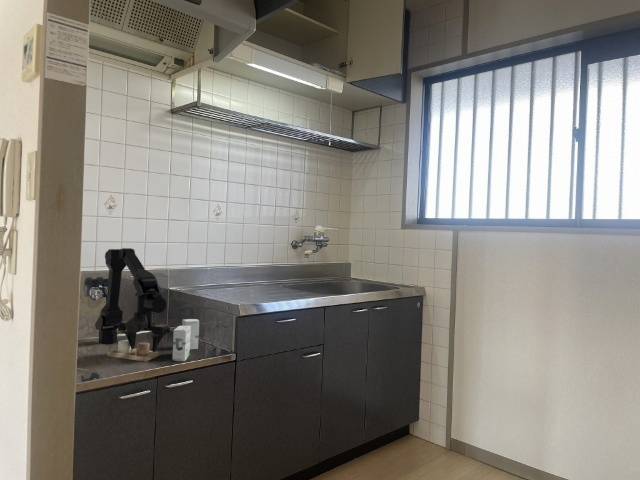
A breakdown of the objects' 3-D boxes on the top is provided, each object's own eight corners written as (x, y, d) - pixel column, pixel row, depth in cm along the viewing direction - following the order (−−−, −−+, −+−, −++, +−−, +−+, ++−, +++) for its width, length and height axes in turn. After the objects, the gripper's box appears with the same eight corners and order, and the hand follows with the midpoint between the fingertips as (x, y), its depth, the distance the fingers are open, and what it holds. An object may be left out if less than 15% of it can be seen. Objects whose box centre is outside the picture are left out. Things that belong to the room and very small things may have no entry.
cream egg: (115, 355, 185) (115, 342, 185) (123, 352, 189) (123, 339, 189) (125, 356, 183) (125, 342, 183) (133, 353, 188) (133, 340, 188)
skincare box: (183, 351, 198) (185, 321, 197) (180, 348, 201) (181, 319, 201) (198, 349, 201) (199, 320, 201) (194, 347, 205) (196, 318, 205)
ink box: (177, 354, 192) (178, 324, 192) (190, 355, 192) (191, 325, 192) (171, 360, 183) (173, 329, 183) (185, 361, 184) (186, 330, 183)
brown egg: (133, 357, 183) (134, 344, 183) (141, 354, 187) (141, 341, 187) (144, 359, 182) (144, 345, 181) (151, 356, 186) (151, 343, 186)
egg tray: (107, 357, 183) (107, 352, 183) (122, 352, 191) (122, 347, 191) (145, 363, 179) (145, 357, 179) (159, 357, 187) (159, 352, 187)
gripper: (109, 310, 178) (107, 352, 179) (153, 314, 173) (152, 358, 174) (128, 305, 189) (127, 346, 189) (171, 310, 184) (169, 351, 185)
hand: (143, 350), depth 184 cm, fingers open, 9 cm apart
